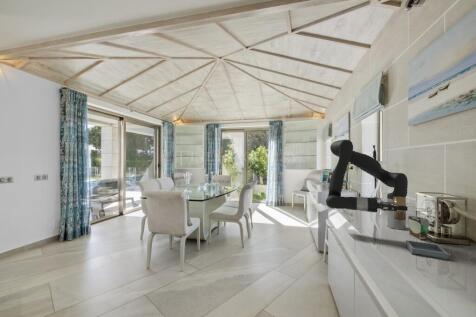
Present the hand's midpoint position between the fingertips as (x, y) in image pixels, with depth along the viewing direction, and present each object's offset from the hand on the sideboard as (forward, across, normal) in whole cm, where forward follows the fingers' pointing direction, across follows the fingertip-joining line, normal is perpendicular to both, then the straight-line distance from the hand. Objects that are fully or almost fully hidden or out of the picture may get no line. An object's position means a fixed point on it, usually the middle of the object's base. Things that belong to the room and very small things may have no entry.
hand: (405, 207), depth 109 cm
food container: (+8, +11, +17) cm, 22 cm away
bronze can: (-3, 0, +6) cm, 7 cm away
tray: (+4, -13, +17) cm, 22 cm away
